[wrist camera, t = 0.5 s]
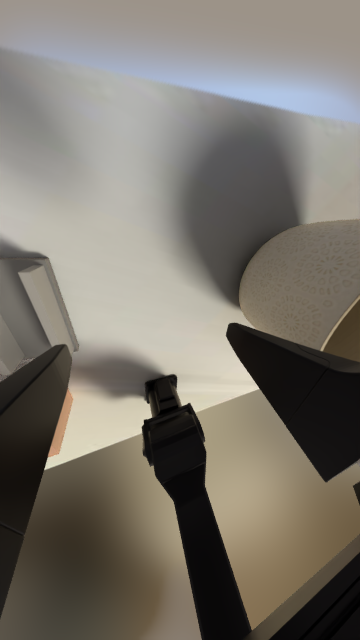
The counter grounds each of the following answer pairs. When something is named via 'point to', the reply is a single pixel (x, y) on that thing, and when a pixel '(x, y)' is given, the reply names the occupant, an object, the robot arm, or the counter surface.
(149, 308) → the counter surface
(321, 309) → the planter
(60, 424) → the tall clay brick
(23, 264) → the dish rack
